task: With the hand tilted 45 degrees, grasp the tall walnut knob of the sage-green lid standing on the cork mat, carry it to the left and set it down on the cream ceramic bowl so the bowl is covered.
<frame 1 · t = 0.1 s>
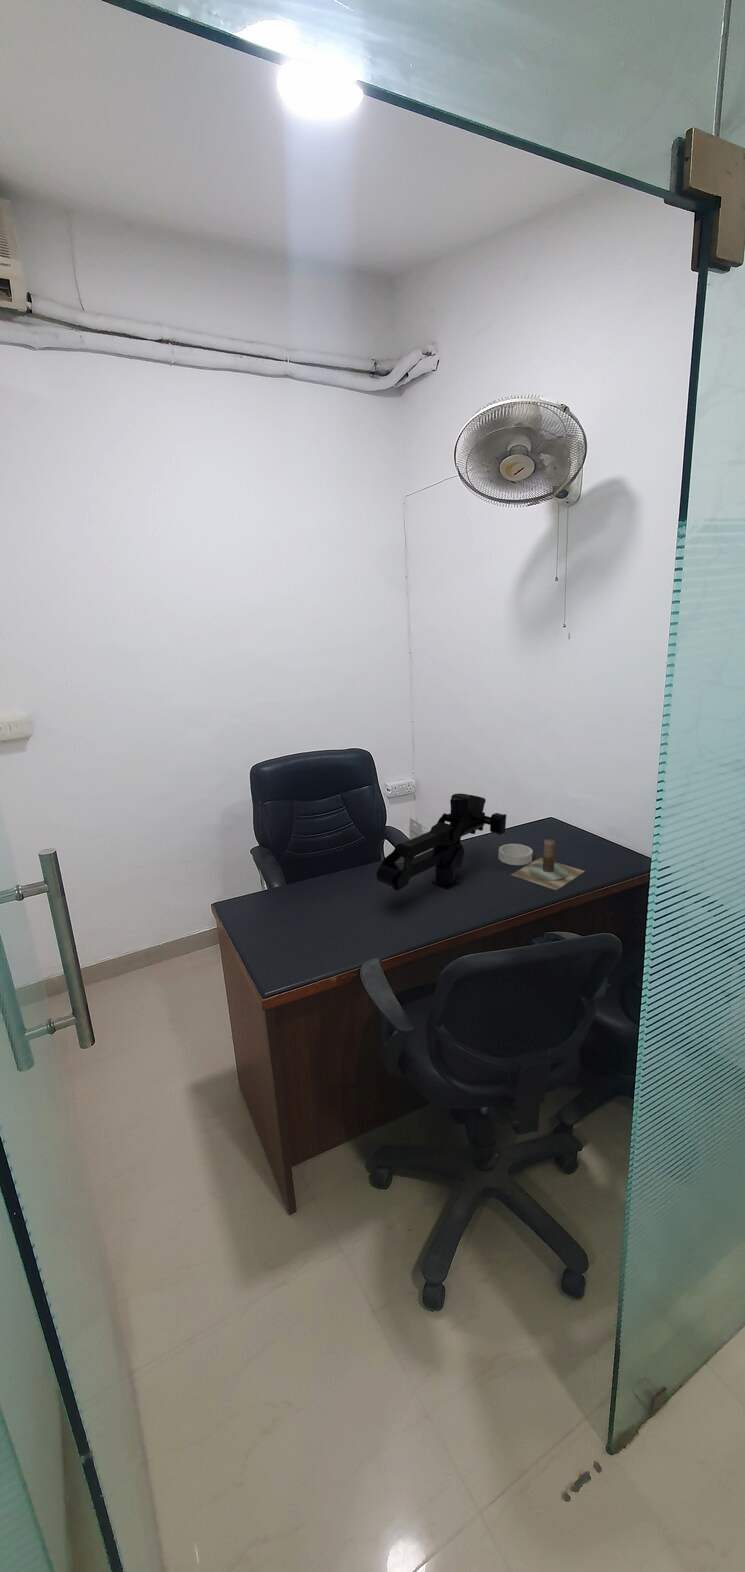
hand: (494, 812, 201), 17 cm above the table, tool horizontal, fingers open, 9 cm apart
ink cartridge box: (421, 860, 206), on the table
lid: (547, 872, 193), resting on mat
bowl: (515, 858, 205), on the table
mat: (547, 873, 193), on the table
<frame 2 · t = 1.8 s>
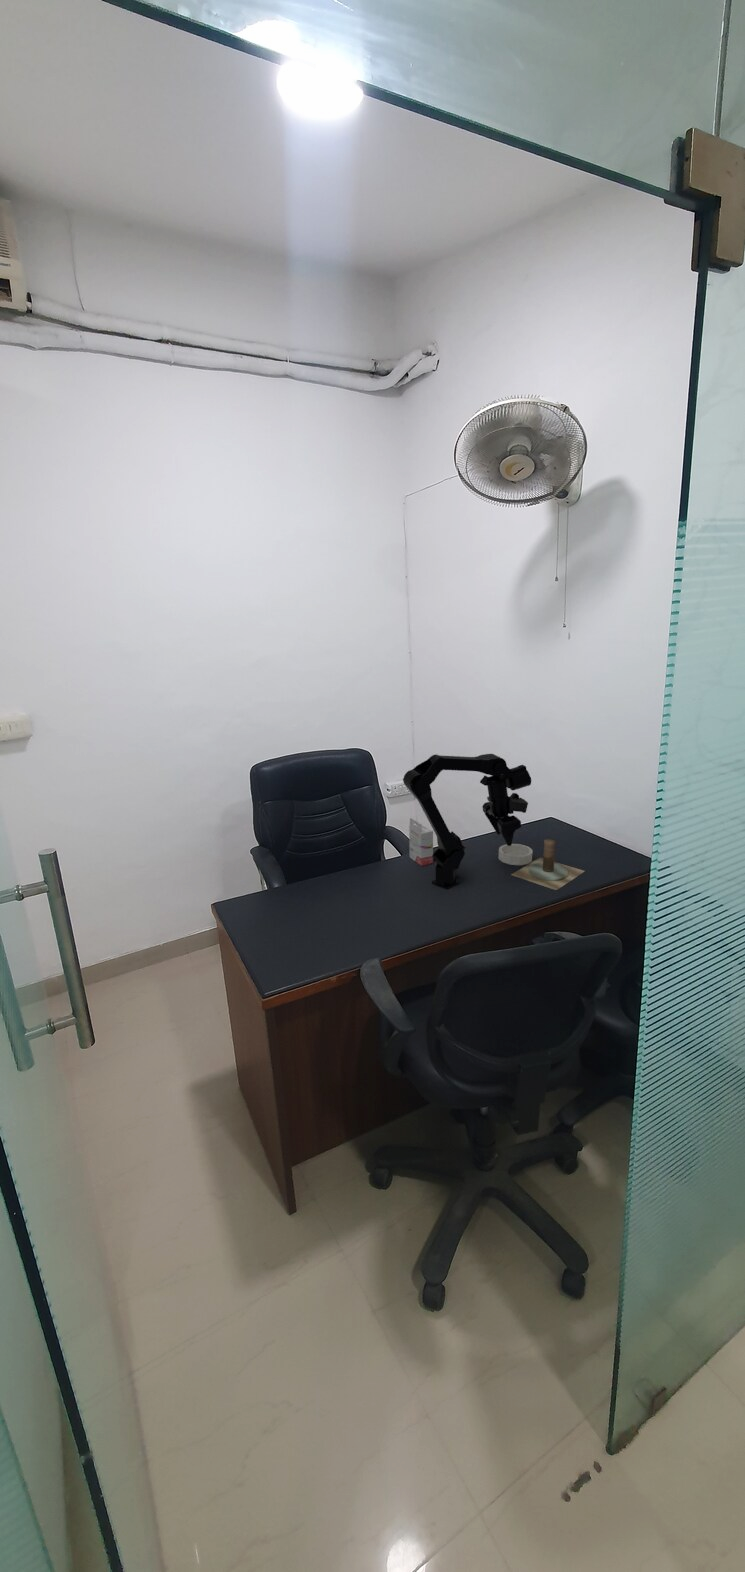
hand: (504, 839, 191), 12 cm above the table, tool pointing down, fingers open, 9 cm apart
nothing on the table moved.
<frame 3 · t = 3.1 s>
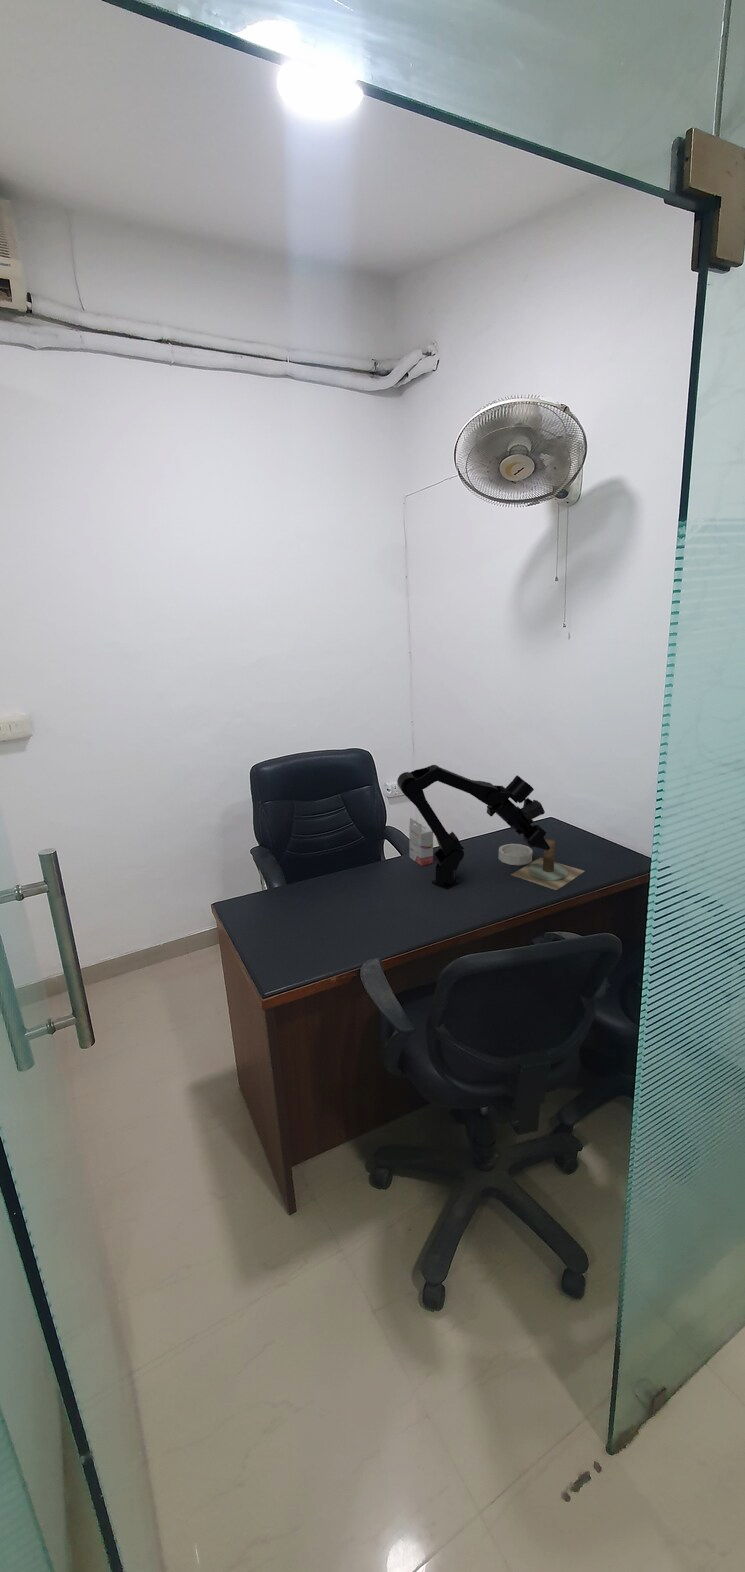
hand: (543, 843, 190), 11 cm above the table, tool tilted 45°, fingers open, 9 cm apart
nothing on the table moved.
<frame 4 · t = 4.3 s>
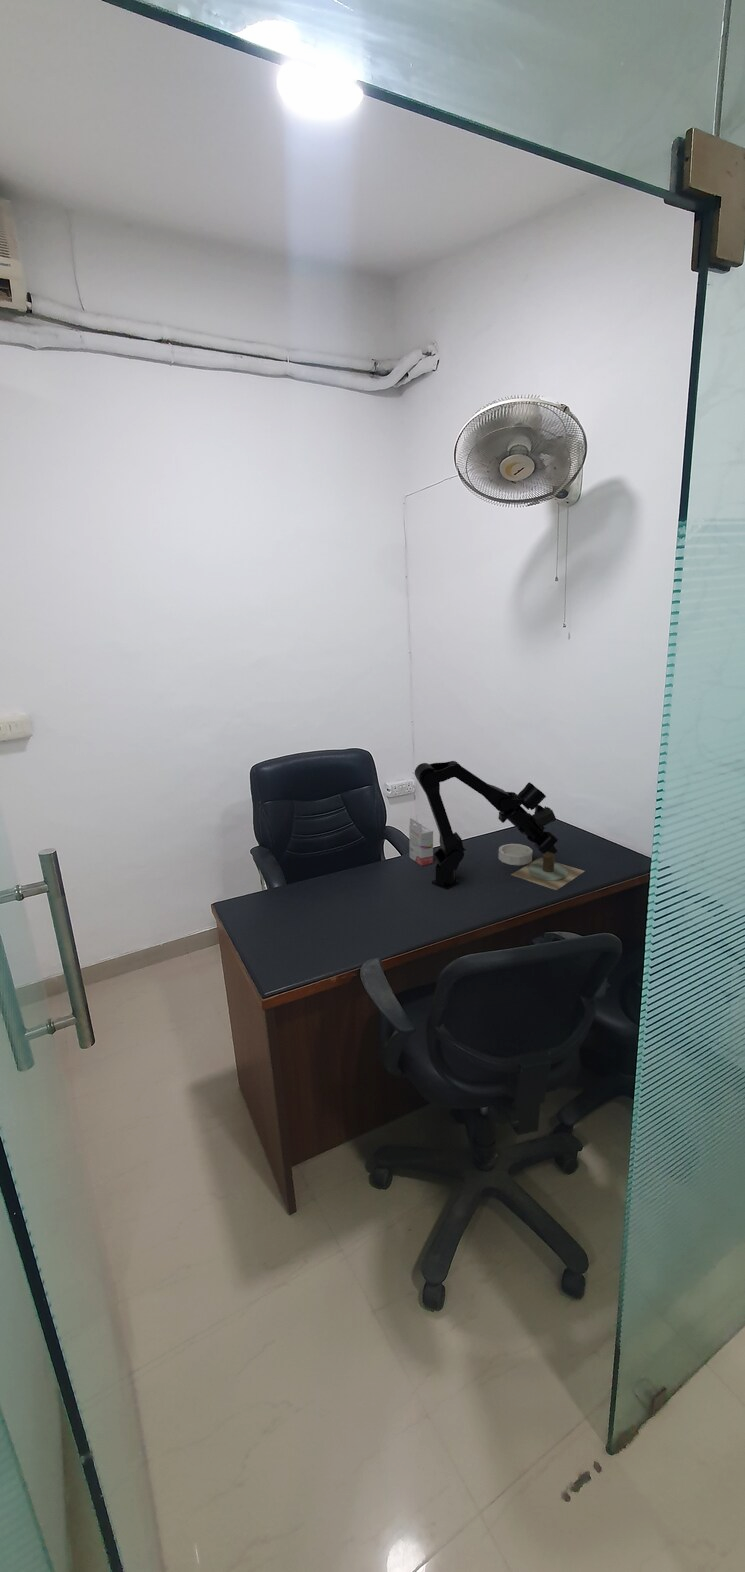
hand: (553, 850, 191), 8 cm above the table, tool tilted 45°, fingers closed on lid, 3 cm apart
lid: (547, 872, 193), resting on mat, touching gripper
everything else where it was.
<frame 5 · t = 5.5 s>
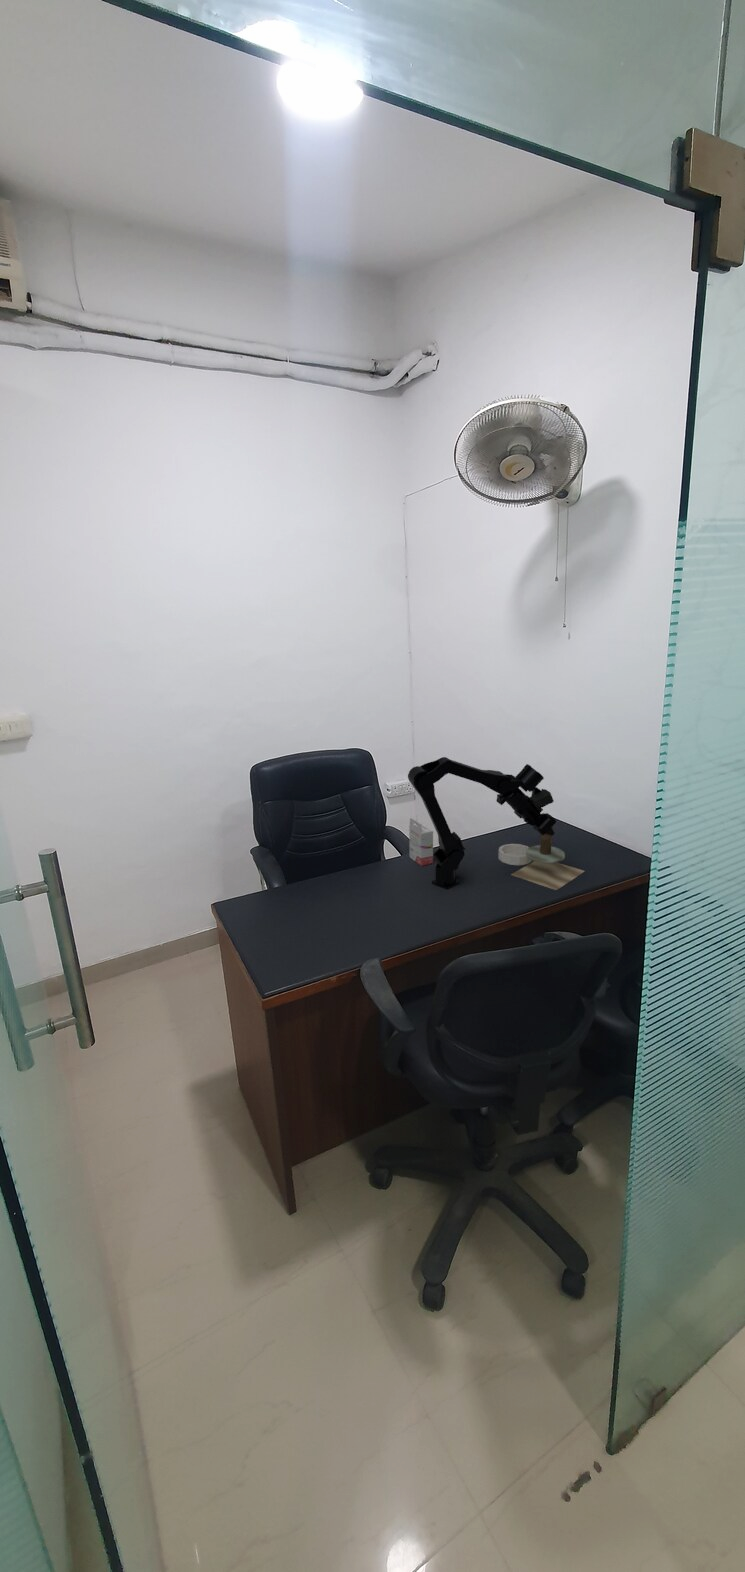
hand: (550, 832, 191), 13 cm above the table, tool tilted 45°, fingers closed on lid, 3 cm apart
lid: (545, 855, 193), point 6 cm above the table, touching gripper
everything else where it was.
when the fingers open (12 cm above the table, at t = 7.0 s): lid stays where it is, resting on bowl.
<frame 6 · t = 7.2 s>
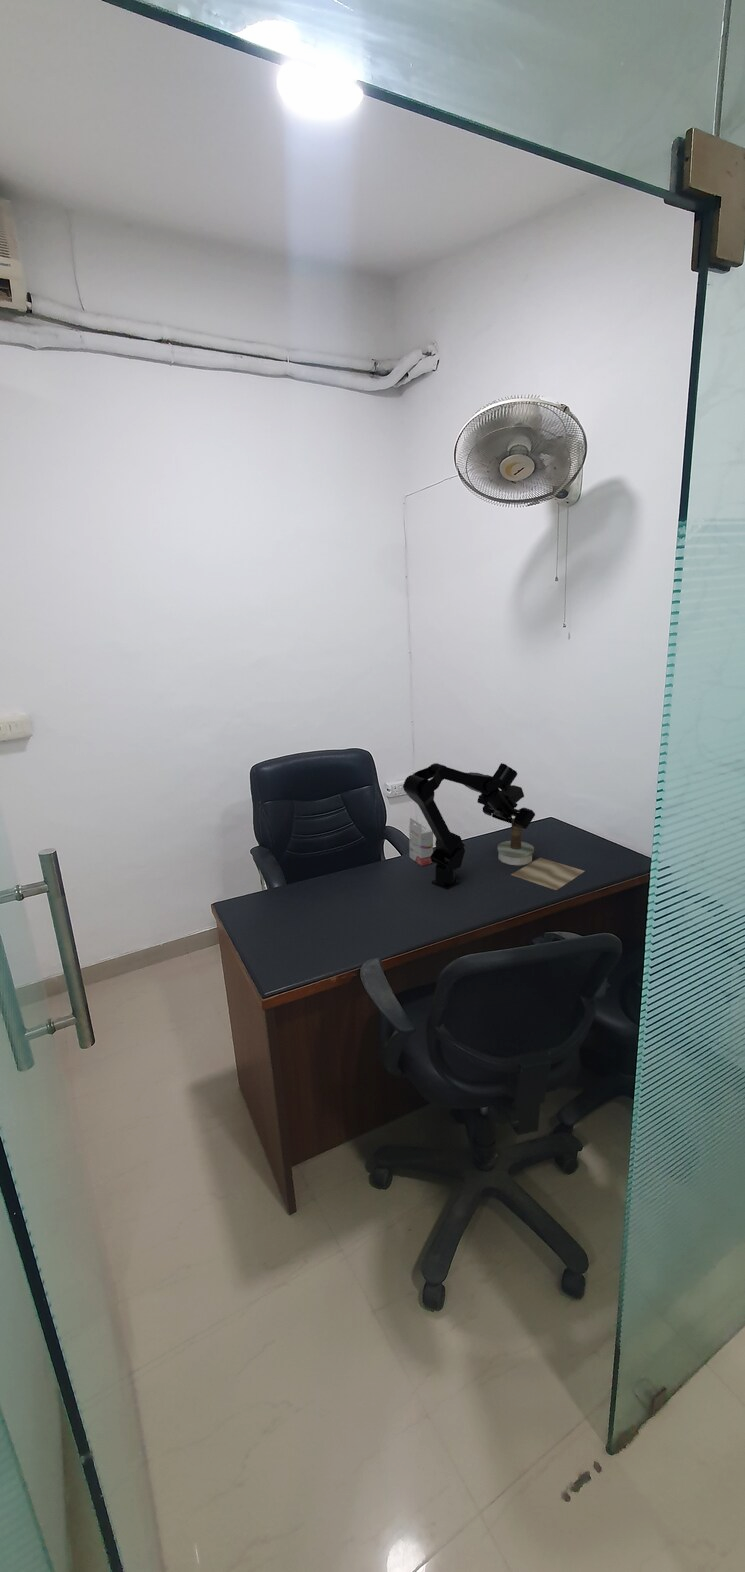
hand: (519, 825, 202), 12 cm above the table, tool tilted 45°, fingers open, 6 cm apart
lid: (515, 850, 204), point 3 cm above the table, touching bowl
everything else where it was.
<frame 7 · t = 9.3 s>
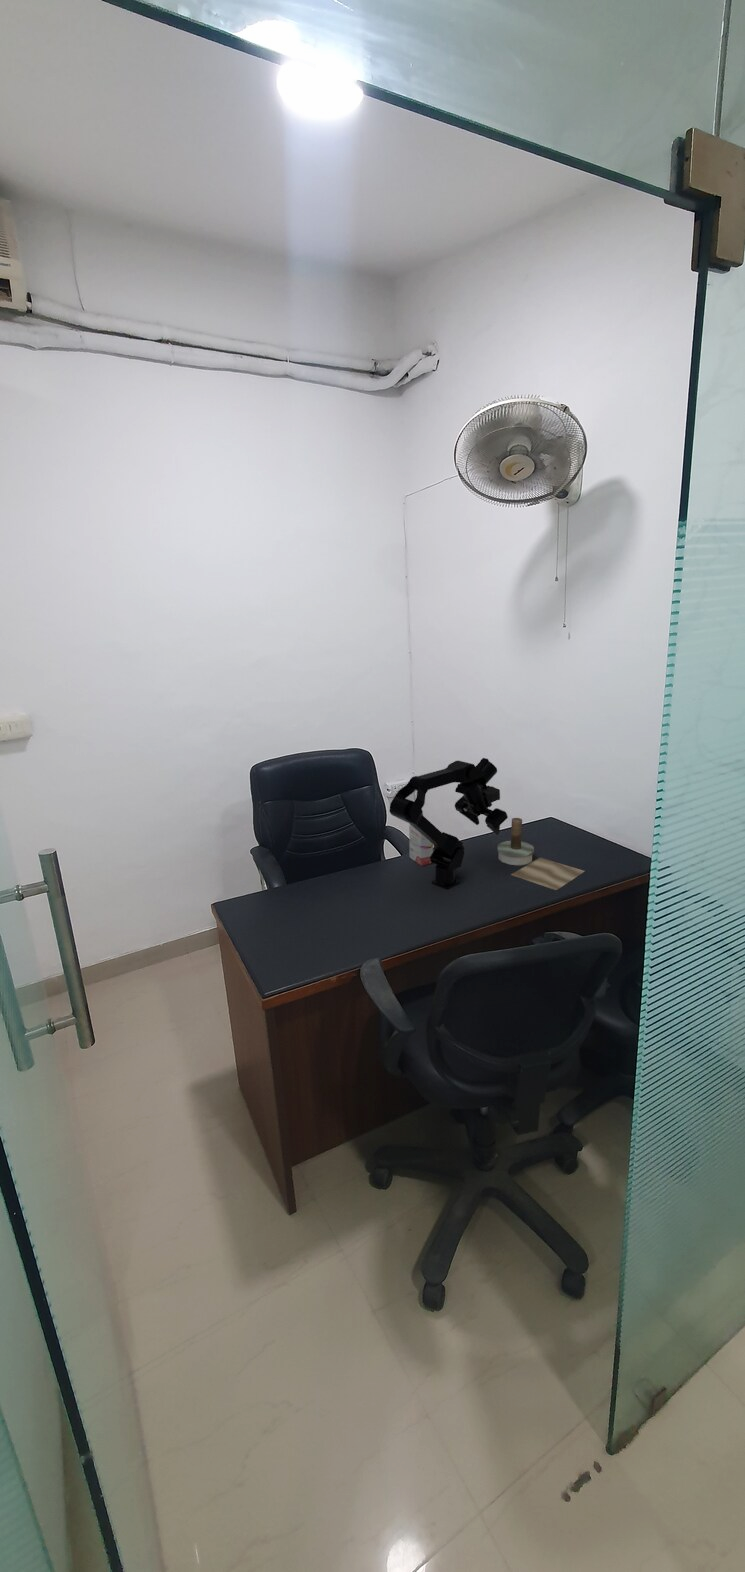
hand: (487, 828, 197), 13 cm above the table, tool tilted 30°, fingers open, 9 cm apart
nothing on the table moved.
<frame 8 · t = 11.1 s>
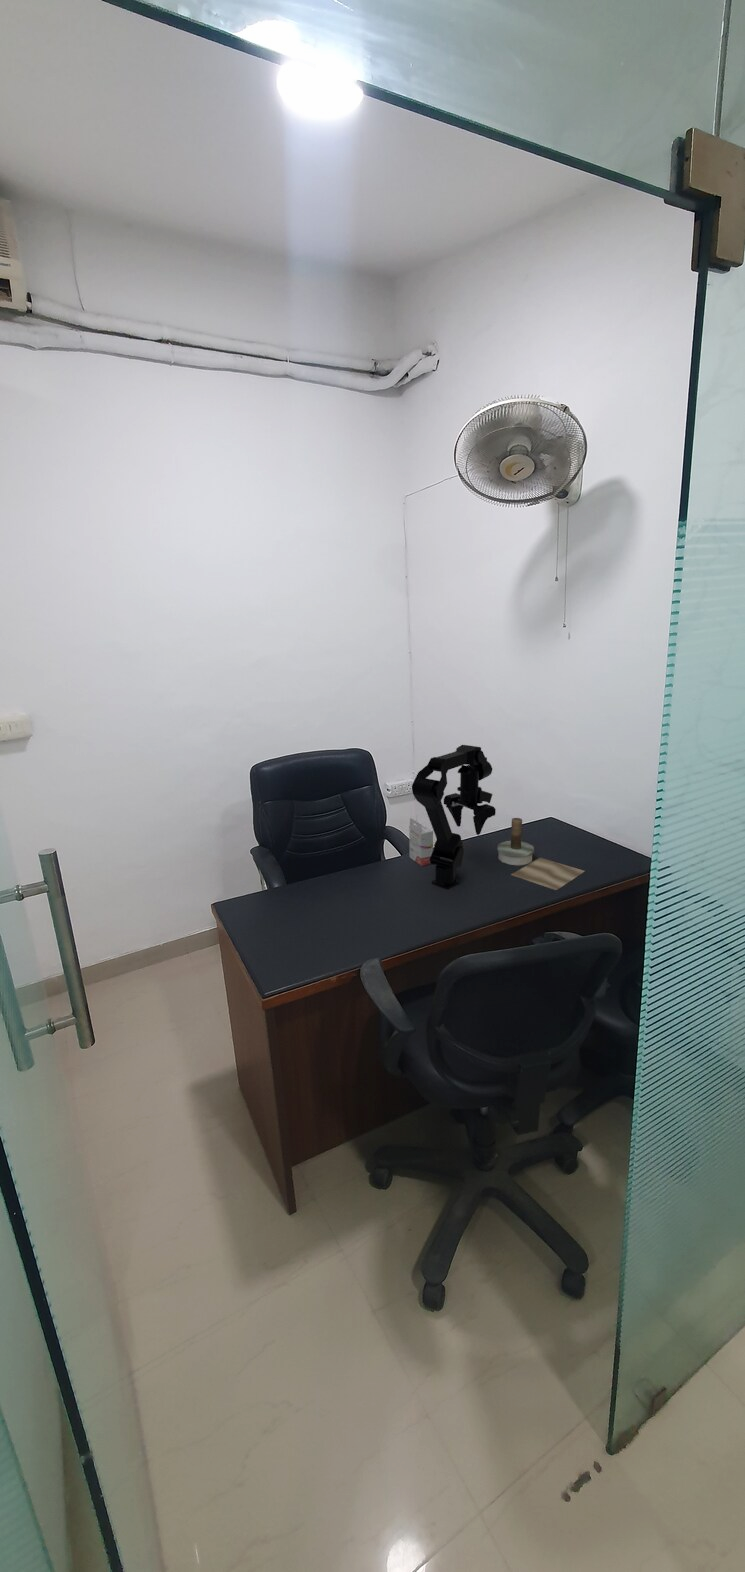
hand: (468, 830, 196), 13 cm above the table, tool pointing down, fingers open, 9 cm apart
nothing on the table moved.
at the end: lid 0.0 cm off-centre on the bowl, point 3.2 cm above the bowl's base; lid tilted 0°; the gripper is holding nothing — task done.
